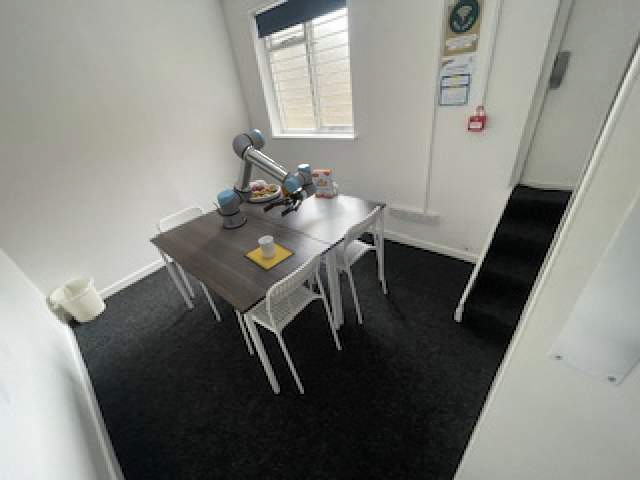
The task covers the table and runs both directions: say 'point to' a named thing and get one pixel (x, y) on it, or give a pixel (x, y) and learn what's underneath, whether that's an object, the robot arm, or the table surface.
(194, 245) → the table surface
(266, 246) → the white cup
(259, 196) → the bowl
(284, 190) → the coffee package
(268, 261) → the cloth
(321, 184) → the cracker box
